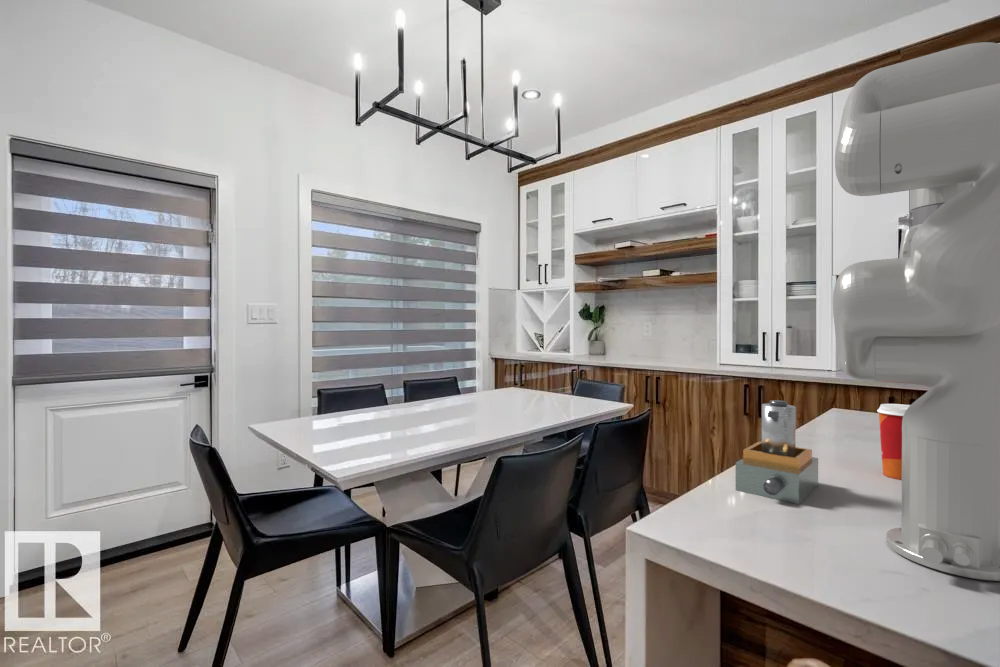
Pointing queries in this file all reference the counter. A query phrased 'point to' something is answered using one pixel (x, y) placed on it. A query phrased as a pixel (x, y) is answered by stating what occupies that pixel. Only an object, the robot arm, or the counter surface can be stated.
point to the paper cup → (891, 438)
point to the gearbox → (777, 474)
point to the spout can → (779, 428)
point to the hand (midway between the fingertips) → (939, 323)
